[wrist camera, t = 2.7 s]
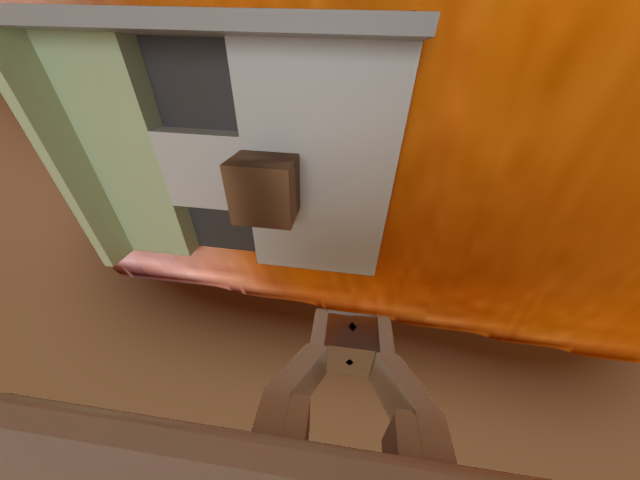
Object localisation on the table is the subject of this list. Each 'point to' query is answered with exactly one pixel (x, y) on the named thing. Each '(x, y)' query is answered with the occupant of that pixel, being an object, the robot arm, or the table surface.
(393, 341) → the robot arm
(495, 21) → the table surface
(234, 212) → the walnut block
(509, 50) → the table surface
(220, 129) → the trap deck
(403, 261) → the table surface
